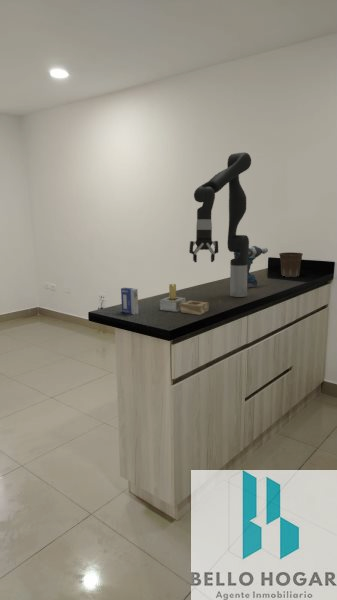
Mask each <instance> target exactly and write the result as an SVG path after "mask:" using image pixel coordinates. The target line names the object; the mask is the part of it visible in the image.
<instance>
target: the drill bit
mask: <svg viewBox="0 0 337 600" xmlns="http://www.w3.org/2000/svg"><path fill="white" fill-rule="evenodd" d="M168 285H169V287H168V288H169V289H168V290H169V293H168V294H169V296H168V297H170V300H176V297H177V285H176V284H175V283H171V284H168Z"/></svg>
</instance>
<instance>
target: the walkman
mask: <svg viewBox="0 0 337 600" xmlns="http://www.w3.org/2000/svg"><path fill="white" fill-rule="evenodd" d="M138 293H139V291H138V288H132V287H122V288H120V294H121V295H120V299H121V313H122V312H124V313H123V314H128V313H129V314H130V315H138V314H139V297H138Z"/></svg>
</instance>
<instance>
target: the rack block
mask: <svg viewBox="0 0 337 600" xmlns="http://www.w3.org/2000/svg"><path fill="white" fill-rule="evenodd" d="M209 306H210V305H209V302H207V301H200V300H199V301H198V300H188V301H187V300H186V302H185V303H182V304H181V310H180V313H183V314H184V313H185V314H190V315H199V316H200V315H203V314H204V313H207V312H208V311H209V310H210V309H209Z"/></svg>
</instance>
